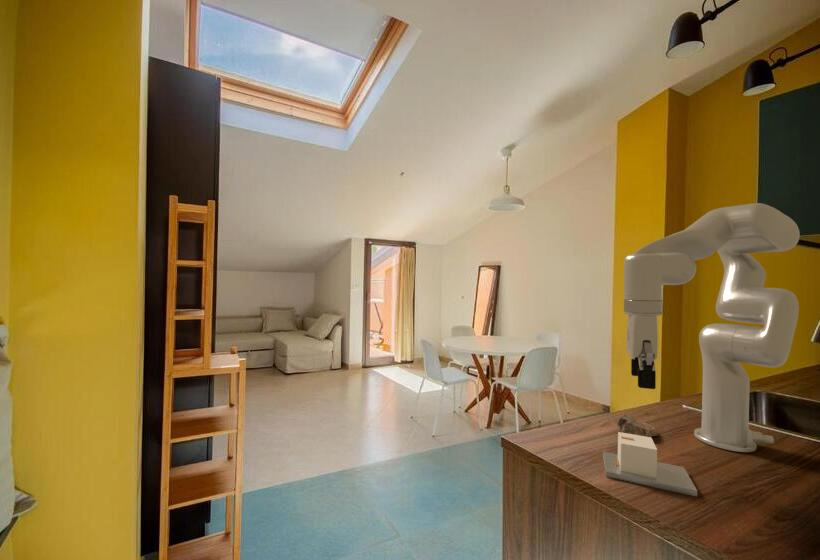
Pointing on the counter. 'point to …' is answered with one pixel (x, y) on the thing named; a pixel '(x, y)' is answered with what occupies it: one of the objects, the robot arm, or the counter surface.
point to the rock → (636, 427)
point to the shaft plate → (666, 477)
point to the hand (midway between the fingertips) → (642, 381)
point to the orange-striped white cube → (637, 454)
